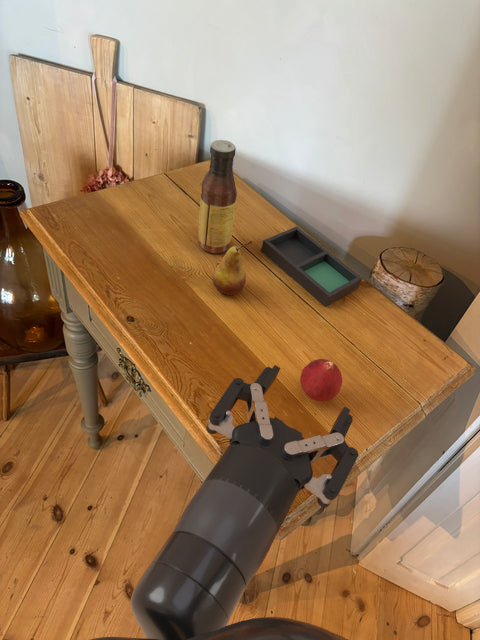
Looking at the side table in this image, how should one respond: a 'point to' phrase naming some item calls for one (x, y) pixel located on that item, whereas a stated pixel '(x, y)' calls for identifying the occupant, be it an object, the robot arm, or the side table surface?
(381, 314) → the side table surface
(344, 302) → the side table surface
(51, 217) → the side table surface
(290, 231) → the tray
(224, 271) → the fruit
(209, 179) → the sauce bottle
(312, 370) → the onion
